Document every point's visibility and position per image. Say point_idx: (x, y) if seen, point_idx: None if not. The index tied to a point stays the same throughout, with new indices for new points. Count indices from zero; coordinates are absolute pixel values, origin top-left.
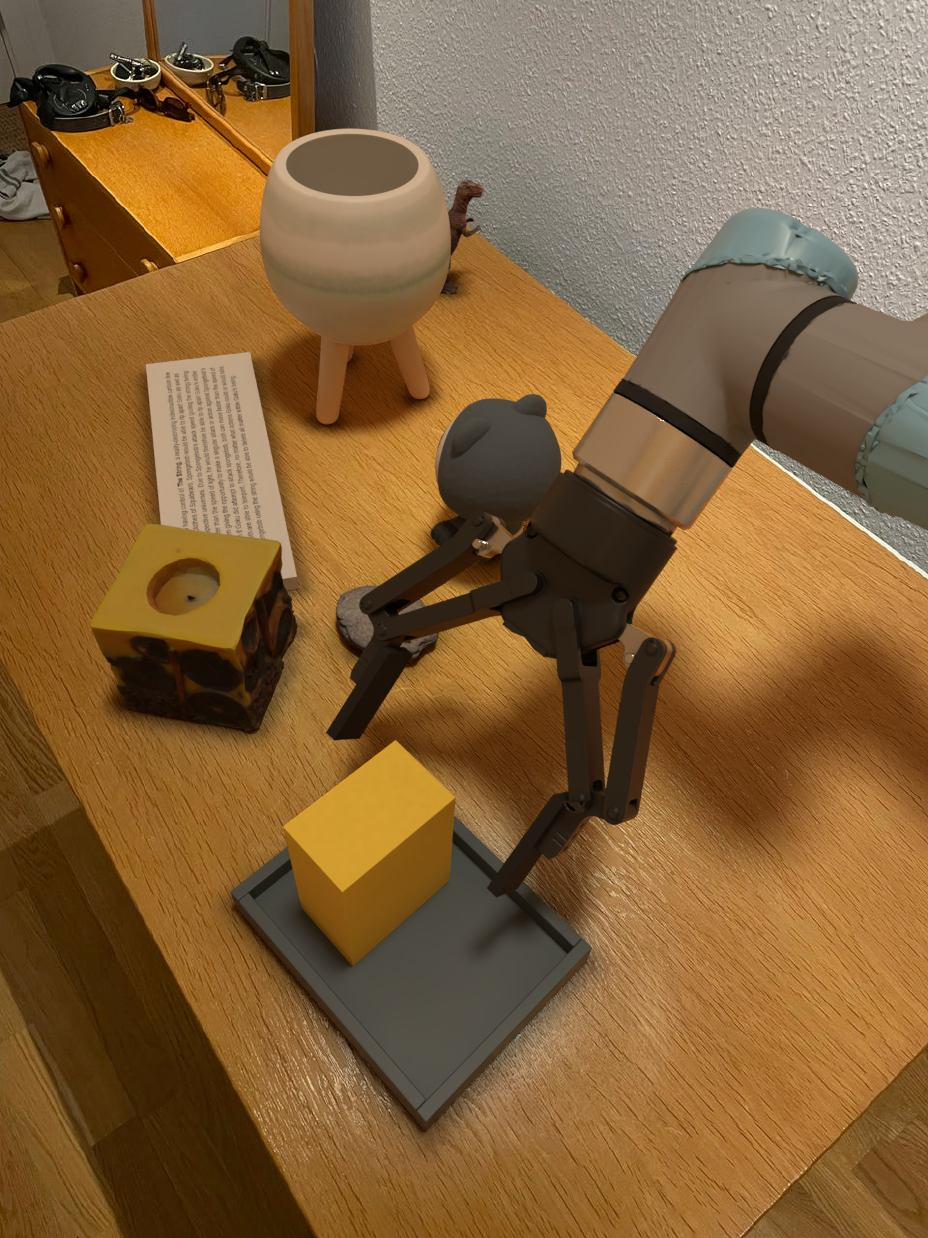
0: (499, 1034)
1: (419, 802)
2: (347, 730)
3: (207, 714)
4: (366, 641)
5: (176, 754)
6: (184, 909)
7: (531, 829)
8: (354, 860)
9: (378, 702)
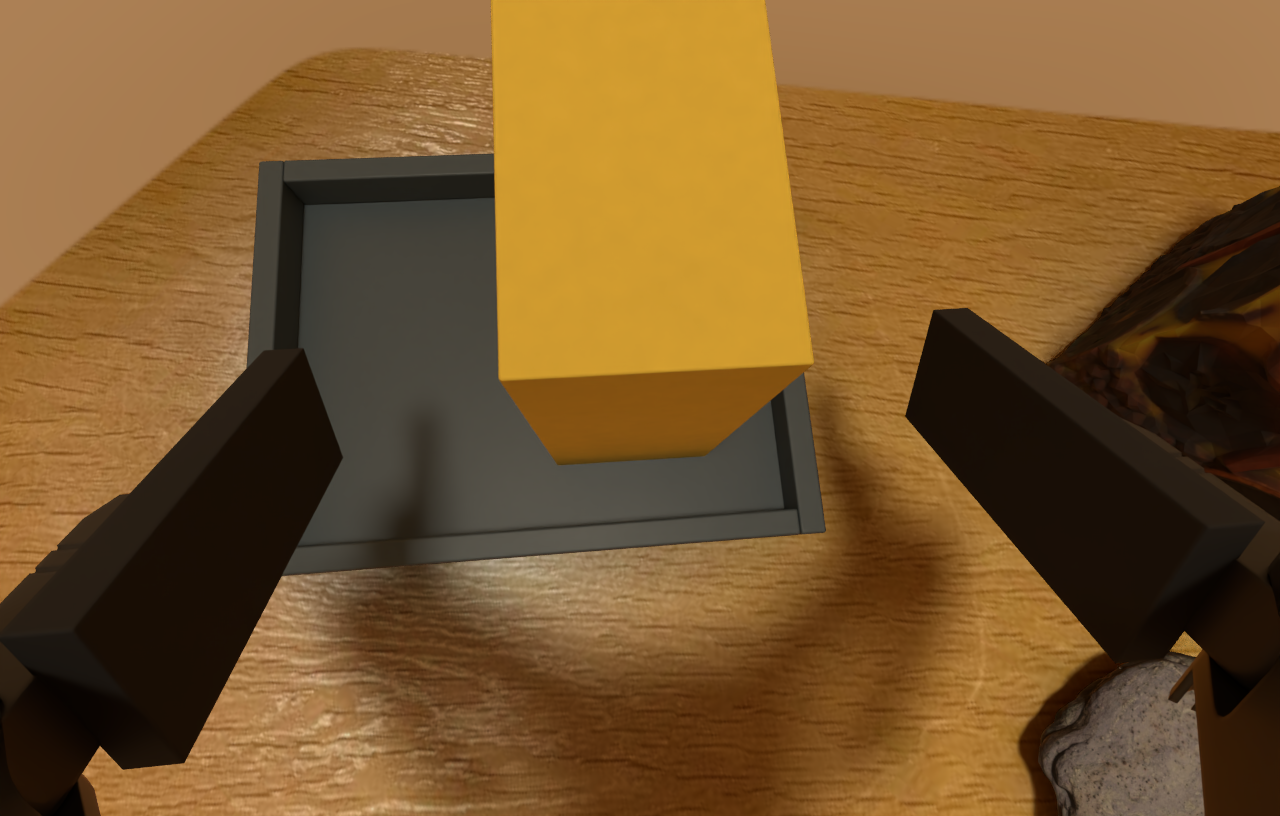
0: (261, 330)
1: (566, 276)
2: (941, 358)
3: (1120, 312)
4: (1142, 686)
5: (1062, 249)
6: (799, 126)
7: (174, 490)
8: (543, 27)
9: (980, 476)
